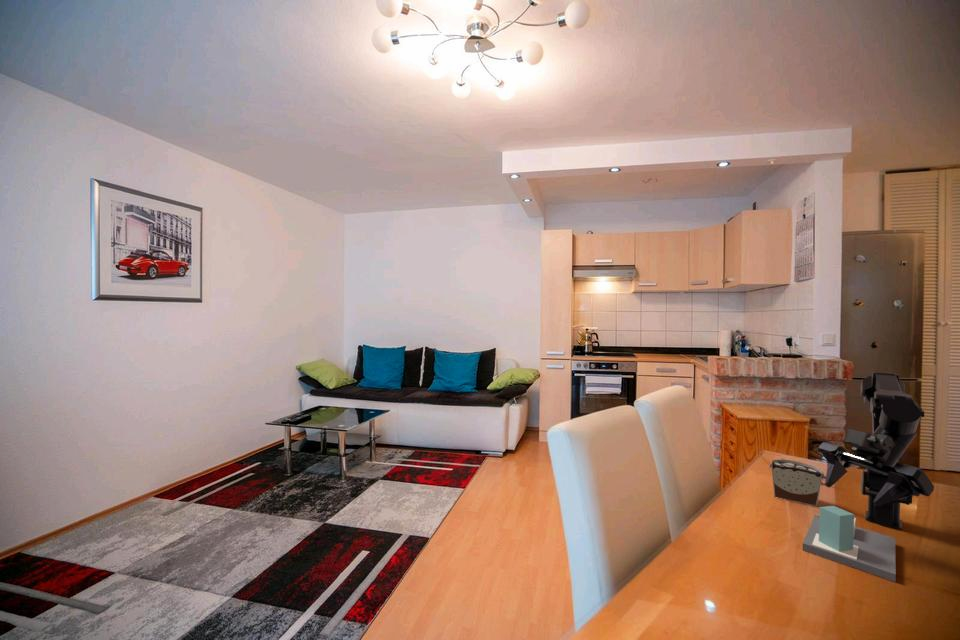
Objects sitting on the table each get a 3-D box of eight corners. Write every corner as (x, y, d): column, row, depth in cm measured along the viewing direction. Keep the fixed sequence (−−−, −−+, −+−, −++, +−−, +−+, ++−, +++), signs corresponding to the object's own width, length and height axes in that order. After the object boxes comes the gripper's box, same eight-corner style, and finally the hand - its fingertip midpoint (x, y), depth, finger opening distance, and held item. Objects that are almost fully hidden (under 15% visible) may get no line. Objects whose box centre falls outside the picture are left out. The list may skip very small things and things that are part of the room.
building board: (814, 520, 100) (815, 504, 100) (894, 544, 90) (895, 527, 90) (802, 549, 86) (803, 531, 86) (895, 582, 76) (896, 561, 76)
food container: (819, 500, 113) (820, 465, 113) (824, 508, 108) (825, 471, 108) (766, 488, 119) (767, 455, 119) (768, 496, 114) (769, 461, 114)
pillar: (832, 539, 88) (833, 505, 88) (853, 549, 84) (854, 514, 84) (818, 541, 87) (819, 507, 87) (838, 551, 83) (840, 515, 83)
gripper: (824, 408, 97) (787, 455, 94) (926, 429, 79) (883, 488, 76) (848, 439, 99) (812, 486, 96) (952, 467, 81) (911, 525, 78)
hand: (849, 494), depth 87 cm, fingers open, 9 cm apart
